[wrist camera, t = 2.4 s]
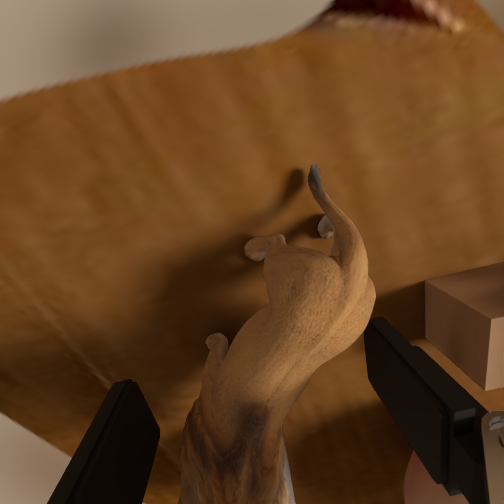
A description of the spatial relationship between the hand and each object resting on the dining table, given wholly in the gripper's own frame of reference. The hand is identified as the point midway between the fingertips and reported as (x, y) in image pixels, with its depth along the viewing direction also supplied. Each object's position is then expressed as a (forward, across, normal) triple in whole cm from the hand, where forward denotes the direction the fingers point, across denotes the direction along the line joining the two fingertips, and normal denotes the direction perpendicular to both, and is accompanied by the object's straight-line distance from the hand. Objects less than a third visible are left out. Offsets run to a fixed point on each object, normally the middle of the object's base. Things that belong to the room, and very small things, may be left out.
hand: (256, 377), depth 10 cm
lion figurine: (+5, -1, 0) cm, 5 cm away
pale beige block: (+4, -13, +2) cm, 13 cm away
